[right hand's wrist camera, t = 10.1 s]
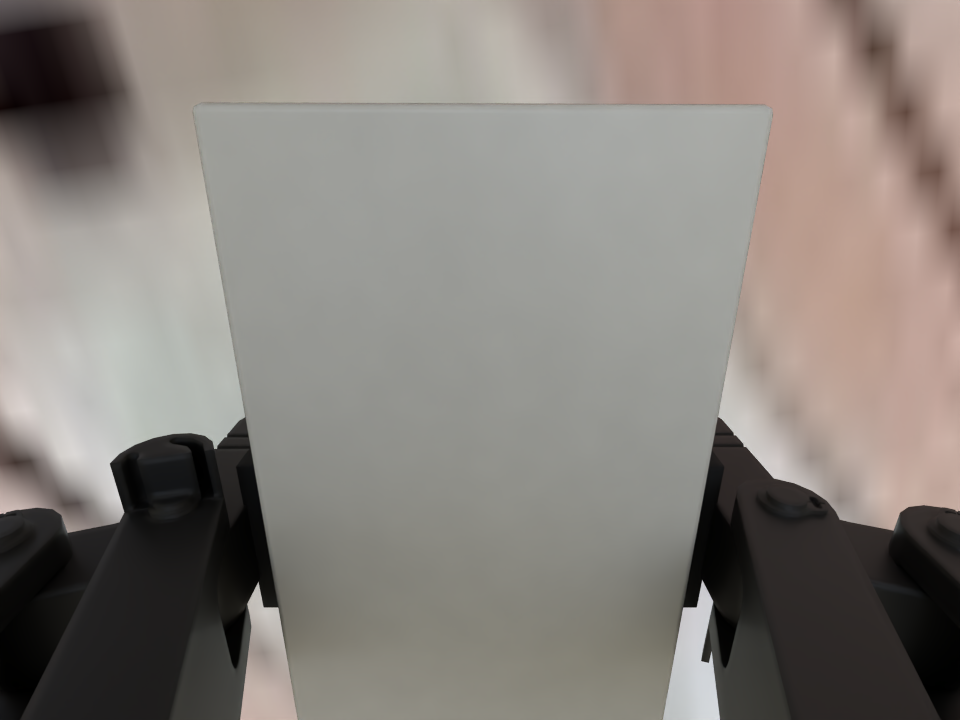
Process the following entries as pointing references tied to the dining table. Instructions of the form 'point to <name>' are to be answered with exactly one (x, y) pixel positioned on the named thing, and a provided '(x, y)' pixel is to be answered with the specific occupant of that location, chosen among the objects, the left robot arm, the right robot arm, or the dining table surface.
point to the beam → (481, 388)
